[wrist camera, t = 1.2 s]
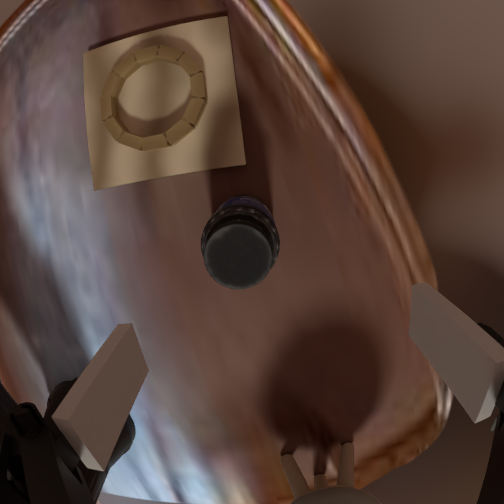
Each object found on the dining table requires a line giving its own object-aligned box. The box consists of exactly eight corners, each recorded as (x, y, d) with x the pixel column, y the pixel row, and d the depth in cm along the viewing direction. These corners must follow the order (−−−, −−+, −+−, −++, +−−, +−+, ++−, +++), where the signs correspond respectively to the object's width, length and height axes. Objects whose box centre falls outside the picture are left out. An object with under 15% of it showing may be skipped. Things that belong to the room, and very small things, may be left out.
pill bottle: (217, 191, 31) (197, 205, 20) (278, 199, 31) (290, 218, 20) (210, 250, 32) (189, 292, 22) (269, 258, 33) (275, 304, 22)
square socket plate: (99, 189, 31) (86, 192, 28) (88, 55, 26) (75, 48, 23) (246, 164, 30) (245, 164, 27) (228, 20, 26) (225, 8, 23)
